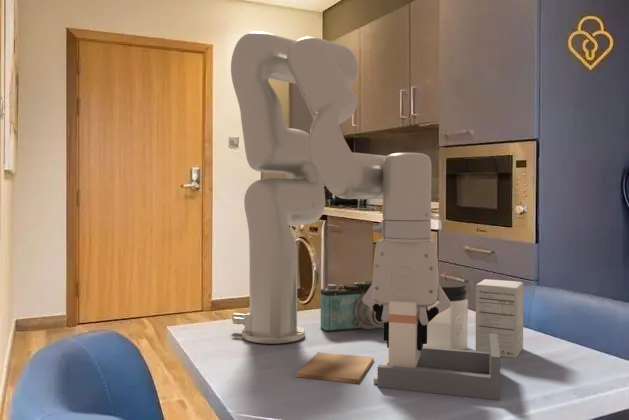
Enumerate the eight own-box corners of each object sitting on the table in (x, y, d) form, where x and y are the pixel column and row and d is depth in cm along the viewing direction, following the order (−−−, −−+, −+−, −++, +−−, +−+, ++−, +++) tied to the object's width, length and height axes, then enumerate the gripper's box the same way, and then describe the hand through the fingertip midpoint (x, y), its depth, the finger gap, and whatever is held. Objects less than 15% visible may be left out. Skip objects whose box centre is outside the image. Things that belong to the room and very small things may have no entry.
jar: (443, 355, 97) (443, 289, 96) (411, 344, 103) (411, 283, 103) (476, 347, 102) (477, 284, 101) (444, 338, 108) (444, 279, 108)
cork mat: (296, 376, 85) (296, 373, 85) (318, 355, 96) (318, 352, 96) (358, 383, 82) (358, 379, 82) (373, 360, 93) (373, 357, 93)
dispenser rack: (372, 386, 81) (372, 346, 80) (386, 360, 93) (387, 326, 93) (499, 400, 75) (500, 357, 75) (496, 370, 88) (497, 334, 88)
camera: (334, 340, 107) (334, 290, 107) (318, 329, 116) (318, 283, 116) (408, 334, 112) (409, 286, 112) (388, 323, 121) (388, 279, 121)
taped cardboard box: (388, 366, 83) (388, 301, 82) (395, 352, 90) (396, 292, 90) (415, 369, 81) (416, 303, 81) (420, 354, 89) (421, 294, 89)
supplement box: (483, 343, 105) (484, 278, 104) (524, 348, 101) (524, 281, 101) (474, 352, 98) (474, 283, 98) (516, 359, 95) (517, 287, 94)
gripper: (349, 231, 84) (348, 348, 85) (460, 234, 79) (458, 358, 80) (359, 229, 91) (358, 336, 92) (462, 231, 86) (460, 345, 87)
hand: (405, 345), depth 86 cm, fingers closed on taped cardboard box, 4 cm apart
